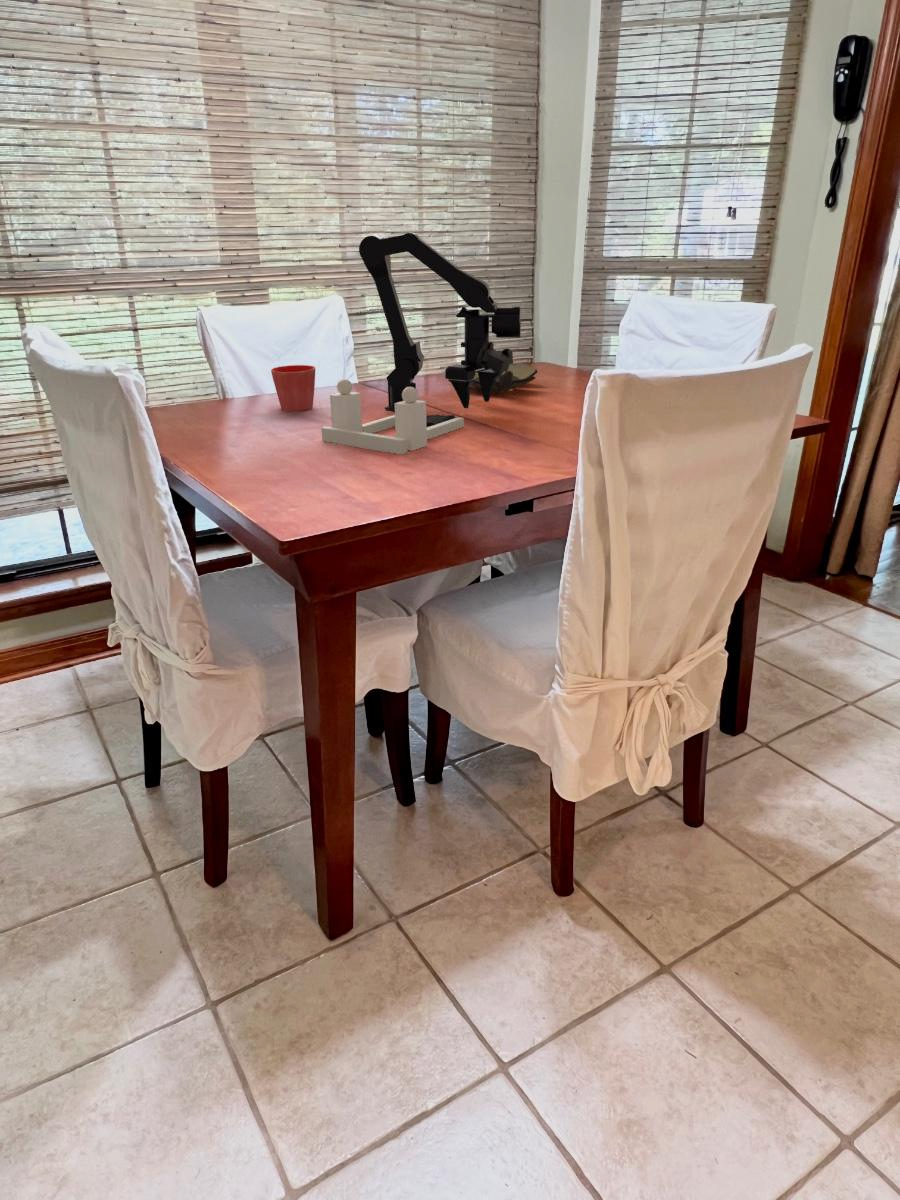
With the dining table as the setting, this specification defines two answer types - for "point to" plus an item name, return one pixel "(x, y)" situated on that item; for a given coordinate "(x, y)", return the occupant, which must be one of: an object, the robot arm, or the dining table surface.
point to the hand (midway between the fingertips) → (476, 404)
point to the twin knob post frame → (382, 423)
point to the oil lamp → (510, 377)
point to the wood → (437, 419)
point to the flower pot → (294, 386)
